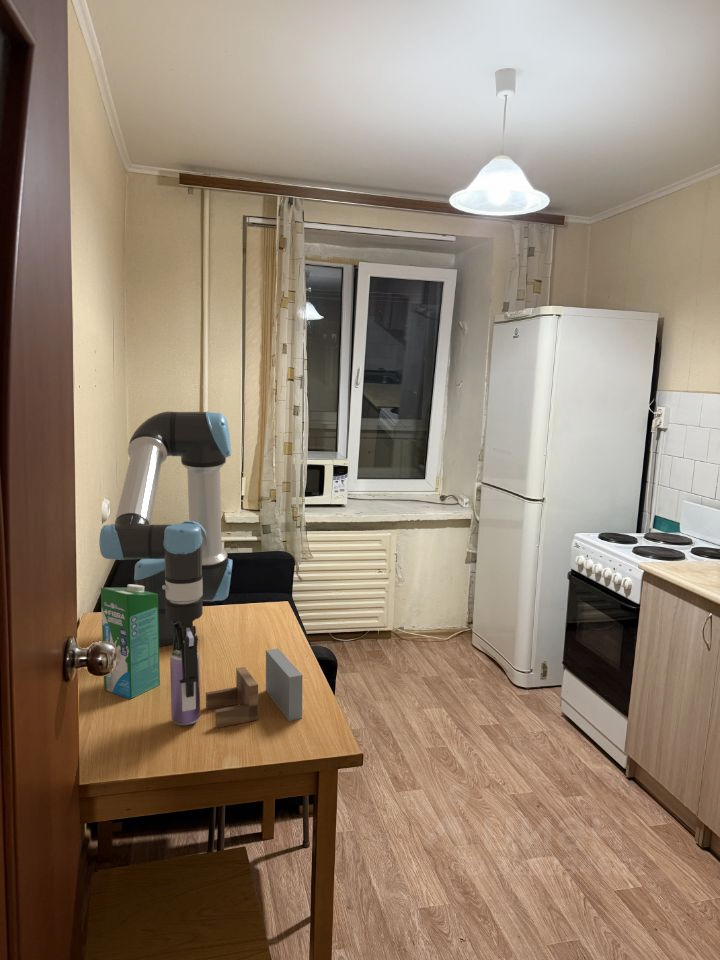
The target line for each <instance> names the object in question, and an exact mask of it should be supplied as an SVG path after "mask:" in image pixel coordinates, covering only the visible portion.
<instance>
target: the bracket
mask: <svg viewBox="0 0 720 960" xmlns="http://www.w3.org/2000/svg"><path fill="white" fill-rule="evenodd" d="M235 670H236V671H235V672H236V674H235V676H236V678H235V681H236V683H235V684H236V685H235V686H234V687H229V688H225V689H218V690H212V691H208V692H205V708H206V710H212V709H215V727H216V728H217V729H219V728H224V727H229V726H234V725H240V724H243V723H248V722H253V721H258V720H259V684H258V683H257V681H256V680H255V678H254V677H253V676H252V674H251V673H250V672H249V670H248V669H247V668H246V666H243V667H237V668H236V669H235ZM228 706H229V707H228ZM223 707H224V708H223ZM218 708H219V709H218Z"/></svg>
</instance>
